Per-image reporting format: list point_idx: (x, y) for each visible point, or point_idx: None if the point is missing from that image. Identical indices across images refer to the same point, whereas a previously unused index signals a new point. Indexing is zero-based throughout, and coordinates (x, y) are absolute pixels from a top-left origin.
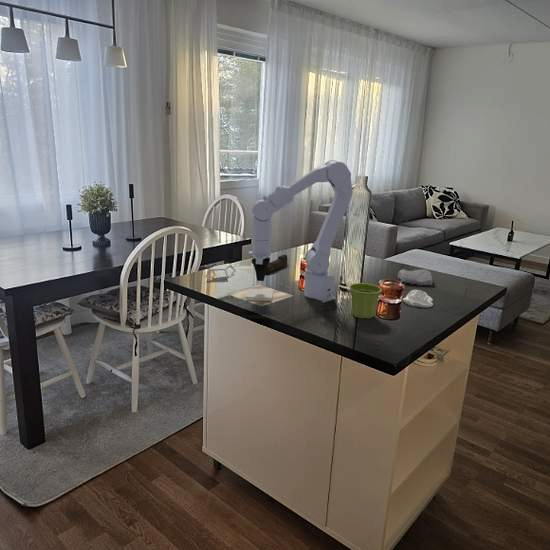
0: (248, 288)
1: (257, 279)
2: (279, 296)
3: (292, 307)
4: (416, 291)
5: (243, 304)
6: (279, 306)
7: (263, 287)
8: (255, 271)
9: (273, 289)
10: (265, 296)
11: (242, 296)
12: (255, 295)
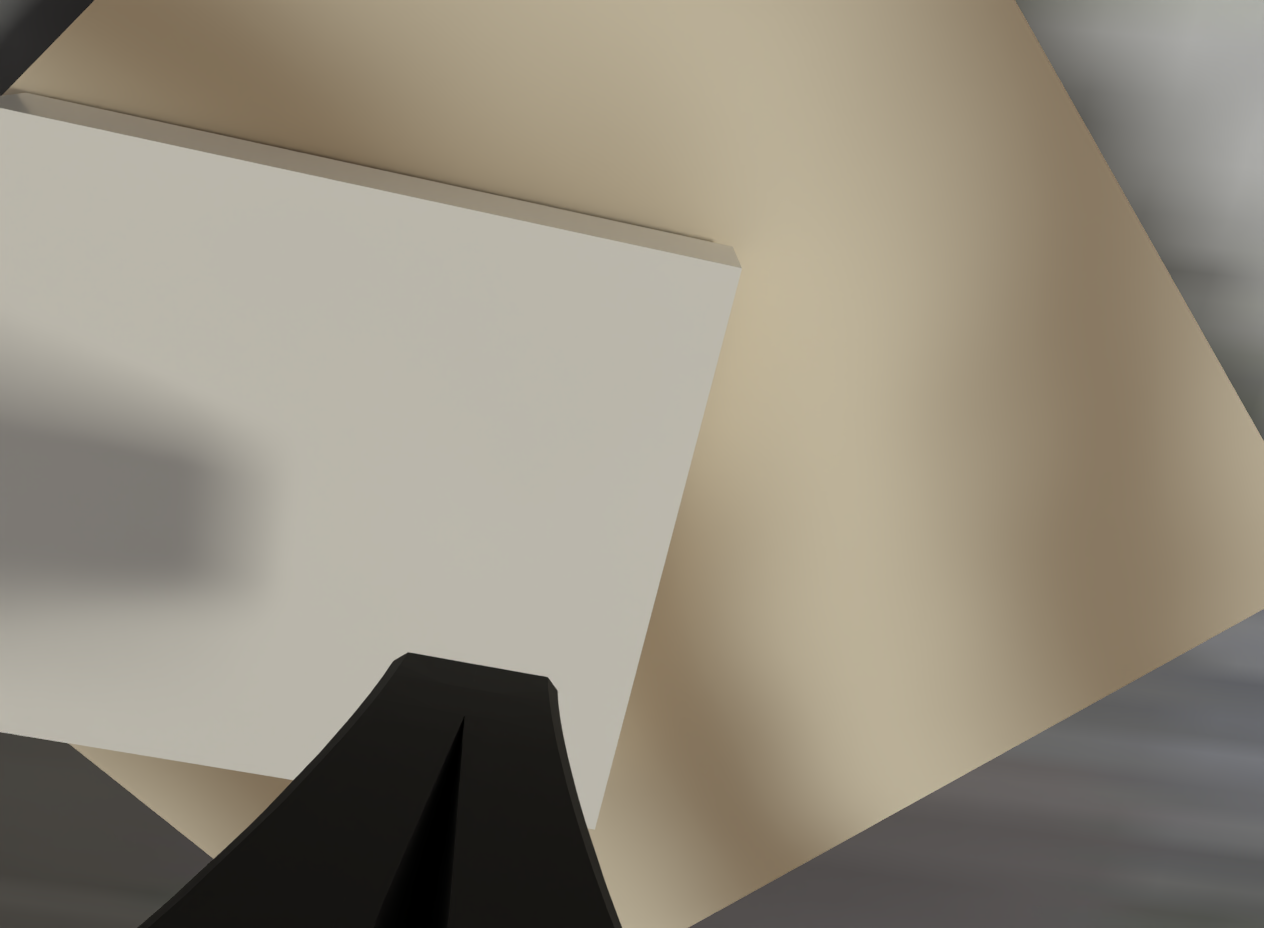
0: (1082, 273)
1: (378, 687)
2: None
3: (4, 924)
4: None
5: (7, 10)
6: (16, 750)
7: (1072, 639)
8: (174, 898)
9: (880, 807)
10: (66, 619)
11: (384, 21)
12: (115, 390)
